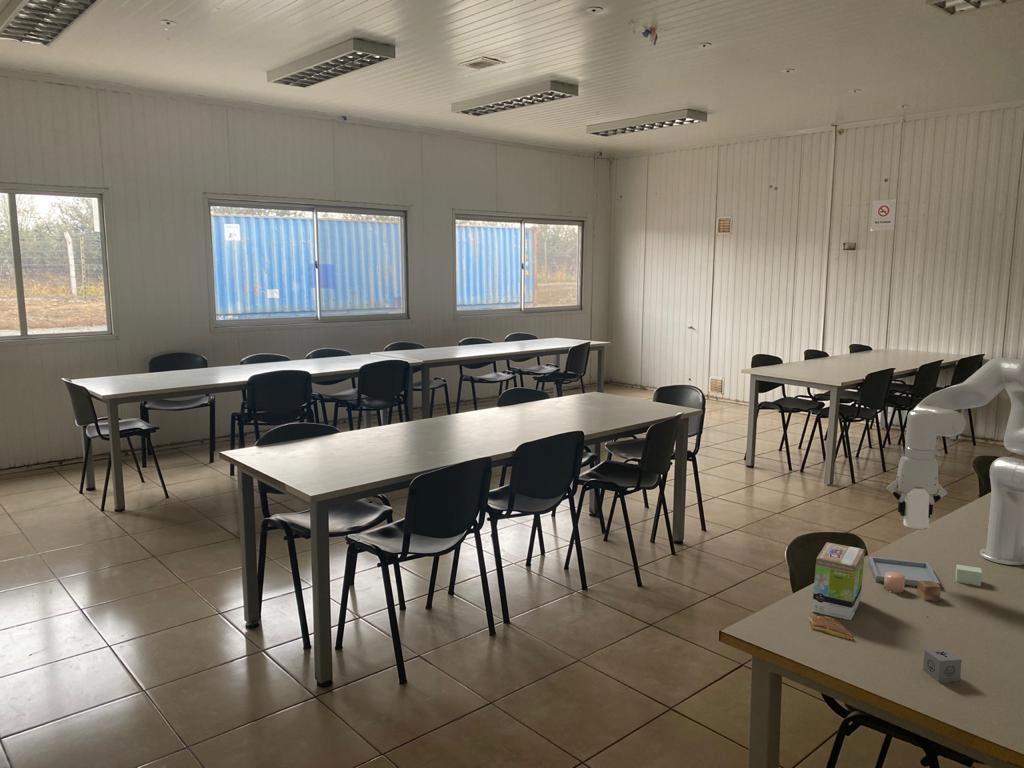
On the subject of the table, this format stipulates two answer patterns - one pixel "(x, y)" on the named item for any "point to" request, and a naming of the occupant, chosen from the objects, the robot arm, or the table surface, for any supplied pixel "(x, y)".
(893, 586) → the brown egg
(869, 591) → the table surface
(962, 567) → the sage block
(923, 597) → the walnut block
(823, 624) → the toasted sandwich
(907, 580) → the tray
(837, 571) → the tea box
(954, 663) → the dice cube
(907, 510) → the can
